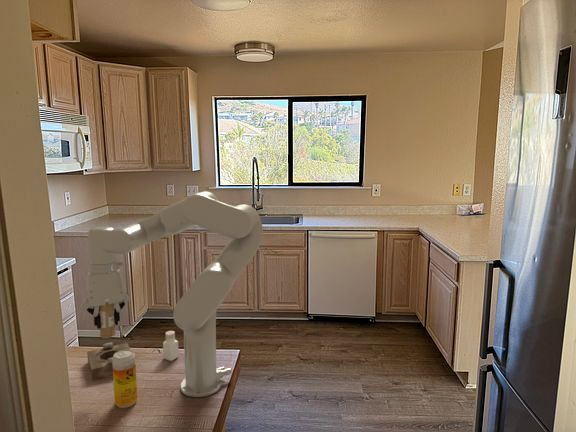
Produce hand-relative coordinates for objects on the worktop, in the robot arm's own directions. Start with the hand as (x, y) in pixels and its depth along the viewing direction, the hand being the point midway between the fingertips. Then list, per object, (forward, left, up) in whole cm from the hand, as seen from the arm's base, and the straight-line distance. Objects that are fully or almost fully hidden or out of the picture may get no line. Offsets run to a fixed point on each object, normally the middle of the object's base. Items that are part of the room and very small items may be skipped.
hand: (107, 324), depth 122 cm
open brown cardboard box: (-2, -12, -19) cm, 23 cm away
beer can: (-2, +13, -20) cm, 24 cm away
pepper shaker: (-21, -7, -20) cm, 29 cm away
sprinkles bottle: (0, 0, -4) cm, 4 cm away
